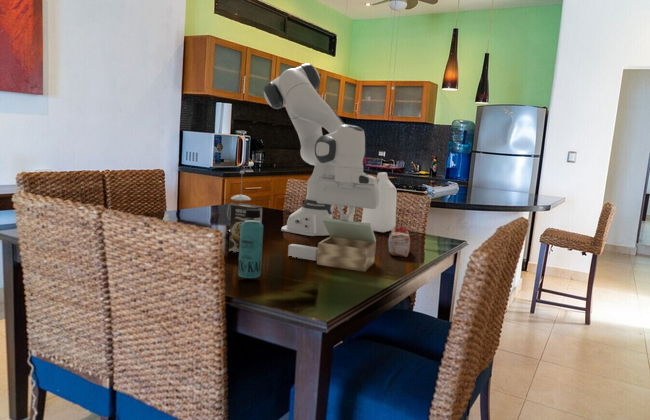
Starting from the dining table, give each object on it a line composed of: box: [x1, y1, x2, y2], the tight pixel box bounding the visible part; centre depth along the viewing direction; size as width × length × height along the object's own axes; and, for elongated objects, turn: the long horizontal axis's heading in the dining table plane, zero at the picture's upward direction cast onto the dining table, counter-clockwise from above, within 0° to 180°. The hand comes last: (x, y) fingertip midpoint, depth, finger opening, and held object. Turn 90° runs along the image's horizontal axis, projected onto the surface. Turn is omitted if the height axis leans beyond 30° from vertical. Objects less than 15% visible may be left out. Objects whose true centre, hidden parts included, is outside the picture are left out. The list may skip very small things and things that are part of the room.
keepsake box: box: [316, 236, 377, 273], centre depth 165 cm, size 16×12×7 cm
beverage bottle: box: [237, 209, 264, 279], centre depth 139 cm, size 6×7×20 cm
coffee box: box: [228, 202, 264, 253], centre depth 171 cm, size 9×6×16 cm
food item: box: [387, 226, 411, 258], centre depth 185 cm, size 14×8×10 cm, turn 175°
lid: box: [322, 218, 377, 244], centre depth 165 cm, size 16×13×1 cm
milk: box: [360, 171, 398, 233], centre depth 232 cm, size 12×12×26 cm
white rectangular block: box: [287, 243, 318, 262], centre depth 170 cm, size 10×3×4 cm, turn 69°
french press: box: [226, 170, 252, 232], centre depth 203 cm, size 10×12×25 cm
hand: (345, 220), depth 160 cm, fingers closed, pressing on lid
